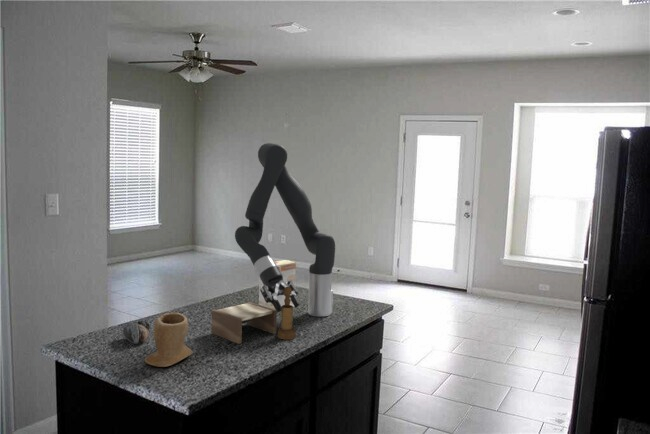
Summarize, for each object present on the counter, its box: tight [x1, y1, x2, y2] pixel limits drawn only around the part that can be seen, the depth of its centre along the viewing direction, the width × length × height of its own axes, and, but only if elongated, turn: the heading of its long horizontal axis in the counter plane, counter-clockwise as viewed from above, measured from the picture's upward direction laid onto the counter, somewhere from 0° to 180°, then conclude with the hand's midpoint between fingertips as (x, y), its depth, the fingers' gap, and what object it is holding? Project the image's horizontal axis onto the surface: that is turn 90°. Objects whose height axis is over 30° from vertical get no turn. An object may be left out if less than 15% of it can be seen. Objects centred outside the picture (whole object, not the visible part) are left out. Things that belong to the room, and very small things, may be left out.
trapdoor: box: [216, 302, 272, 325], centre depth 198 cm, size 14×14×6 cm
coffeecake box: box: [258, 259, 297, 310], centre depth 232 cm, size 15×7×20 cm, turn 136°
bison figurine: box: [122, 319, 151, 344], centre depth 188 cm, size 12×7×10 cm
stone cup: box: [144, 312, 193, 368], centre depth 170 cm, size 15×12×15 cm
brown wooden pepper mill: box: [276, 287, 297, 341], centre depth 196 cm, size 7×6×18 cm
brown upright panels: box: [211, 301, 278, 345], centre depth 199 cm, size 17×16×8 cm
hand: (289, 308), depth 195 cm, fingers open, 8 cm apart
